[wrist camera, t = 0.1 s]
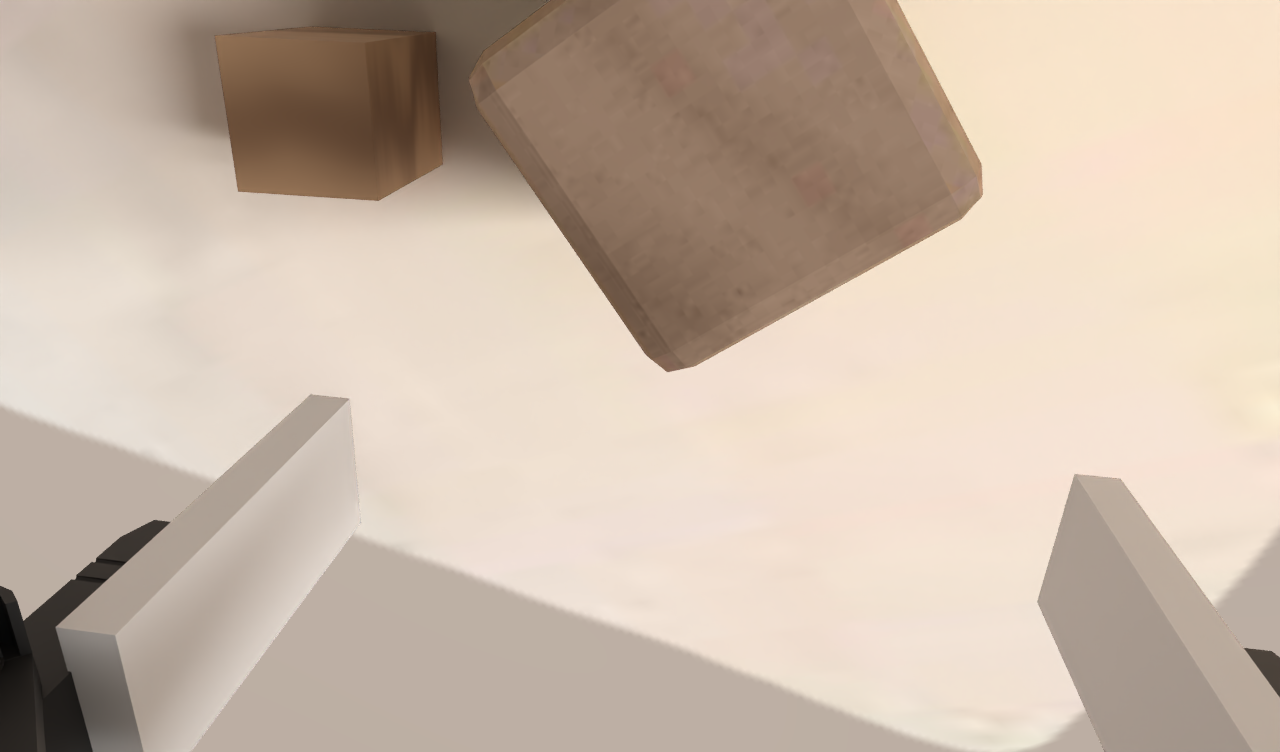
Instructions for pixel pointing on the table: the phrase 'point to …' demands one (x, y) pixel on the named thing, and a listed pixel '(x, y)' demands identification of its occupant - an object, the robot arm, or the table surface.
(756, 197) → the block
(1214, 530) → the table surface
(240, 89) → the walnut block
